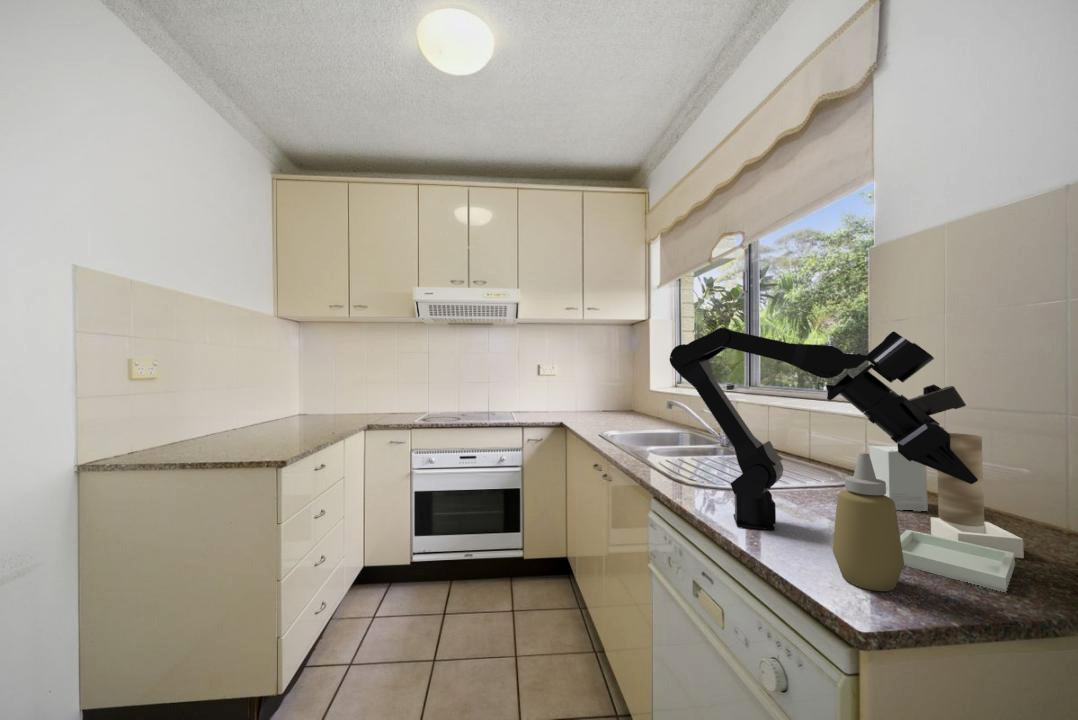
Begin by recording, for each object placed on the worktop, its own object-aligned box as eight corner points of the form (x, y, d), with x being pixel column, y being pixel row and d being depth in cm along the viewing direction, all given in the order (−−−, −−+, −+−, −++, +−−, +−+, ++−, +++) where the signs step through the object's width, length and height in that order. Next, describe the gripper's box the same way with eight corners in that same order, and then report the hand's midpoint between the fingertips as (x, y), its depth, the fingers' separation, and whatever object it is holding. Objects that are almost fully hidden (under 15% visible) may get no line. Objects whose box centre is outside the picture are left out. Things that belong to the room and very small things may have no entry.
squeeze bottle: (882, 602, 55) (879, 461, 56) (820, 575, 62) (817, 451, 63) (918, 589, 58) (914, 456, 59) (854, 565, 66) (851, 447, 66)
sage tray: (1006, 593, 57) (1005, 578, 57) (887, 561, 67) (886, 548, 67) (1014, 566, 65) (1014, 553, 65) (907, 541, 75) (906, 529, 75)
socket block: (958, 551, 70) (957, 533, 71) (931, 533, 78) (930, 517, 78) (1023, 558, 68) (1023, 539, 68) (988, 539, 76) (988, 521, 76)
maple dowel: (940, 521, 65) (937, 435, 65) (937, 513, 69) (934, 431, 69) (987, 529, 62) (984, 438, 62) (981, 519, 66) (978, 434, 66)
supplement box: (929, 512, 90) (927, 452, 90) (889, 510, 92) (887, 450, 92) (906, 502, 97) (905, 446, 98) (869, 500, 99) (868, 445, 99)
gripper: (926, 367, 61) (1046, 454, 54) (919, 368, 76) (1012, 437, 69) (858, 419, 66) (960, 505, 59) (864, 410, 81) (946, 478, 73)
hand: (972, 478), depth 65 cm, fingers closed on maple dowel, 5 cm apart
